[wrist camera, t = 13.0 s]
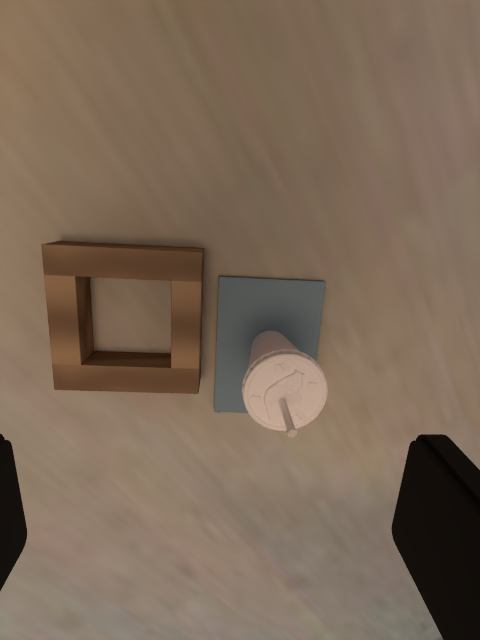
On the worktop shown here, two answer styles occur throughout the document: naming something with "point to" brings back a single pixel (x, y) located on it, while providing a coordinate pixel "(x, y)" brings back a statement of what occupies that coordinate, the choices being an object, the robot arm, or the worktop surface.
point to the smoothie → (282, 384)
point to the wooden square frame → (76, 317)
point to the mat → (260, 326)
